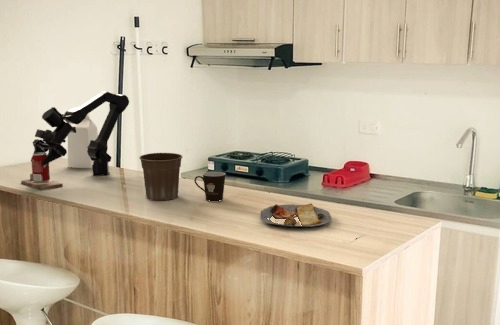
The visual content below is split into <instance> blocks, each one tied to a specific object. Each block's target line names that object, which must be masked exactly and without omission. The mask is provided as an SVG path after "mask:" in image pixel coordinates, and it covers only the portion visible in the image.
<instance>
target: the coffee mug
mask: <svg viewBox="0 0 500 325" xmlns="http://www.w3.org/2000/svg"><path fill="white" fill-rule="evenodd" d="M198 178H200V179H201V180H202V181H203V187H204V188H203V187H201V186H200V185H199V183H198V182H197V179H198ZM225 181H226V172H223V171H206V172H203V173H202V176H201V175H197V176H195V177H194V181H193V182H194V184H195V185H196V186H197V188H199V189H200V190H201V191H202V192H204V194H205V196H204V197H205V201H207V200H210V201H218V202H220V201H219V200H222V199H224V192H225V183H226V182H225ZM210 201H209V202H210ZM222 201H223V200H222Z"/></svg>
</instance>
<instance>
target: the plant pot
mask: <svg viewBox="0 0 500 325" xmlns="http://www.w3.org/2000/svg"><path fill="white" fill-rule="evenodd" d="M182 159H183V155H182V154H179V153H174V152H173V153H172V152H154V153H153V152H151V153H146V154H142V155H139V160H140V165H141V168H142V173H143V180H144V188H145V196H146V199H147V200H150V201H154V200H155V201H156V202H159V201H160V202H161V200H162V201H164V200H165V201H171V200H170V199H172V200H175V199H177V198H178V197H179V185H180V184H179V182H180V181H179V180H180V168H181V165H182Z"/></svg>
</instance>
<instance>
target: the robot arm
mask: <svg viewBox="0 0 500 325" xmlns="http://www.w3.org/2000/svg"><path fill="white" fill-rule="evenodd" d="M106 102H107V103H108V104H109V105H108V106H109V111H108V113H107V115H106V118H105V120H104V122H103V124H102V126H101V129H100V131H99V132H98V137H97V139H96V140H95V141H94V140H91V141H90V144H89V146H88V147H87V148H88V150H87V153H88V155H89V156H90V158H91V160H92V161H94V162H93V165H92V168H91V169H92V175H93V177H94V176H95V177H96V176H97V177H99V176H109V174H110V169H109V167H110V166H109V163H110V162H111V160H112V156H111V155H110V154H109V153H108V142H109V139H110V137H111V134H112V132H113V130H114V128H115V125H116V124H117V122H118V120H119V117H120V115H121V114H122V113H123V112H124V111H125V110H127V107H128V106H129V104H130V100H129V97H128V96H127V95H125V94H115V93H111V92H109V91H104V90H103V91H100V92H99V93H98V94H96V95H95V96H94V97H92V98H90V99H89V100H87V101H86V102H84V103H83V104H81V105H80V106H77V107H73V108H70V109H68V110H67V111H65V112H64V113H61V112H60V111H59V110H58V109H57V108H56V107H53V106H52V107H51V108H49V109H48V110H46V111H44V113H42V116H41V119H42V120H43V121H45V122H46V124H48V125H49V126H50V127H51V128H54V130H53V131H52V130H50V129H45V130H42V129H40V128H39V129H36V132H35V135H34V137H36V139H34V140H33V141H32V146H33V149H34V150H33V153H39V152H44V153H47V156H46V157H45V159H44V161H43V163H42V165H46V164H48V163H49V164H50V163H52V162H54V161H56V160H57V159H60V158H62V157H65V156H66V155H67V154H68V149H66V148H65V147H64V146H63V145H62V144H63V143H64V144H65V143H66V142H67V140H66V139H67V138H68V134H69V133H70V132H73V133H76V127H74V126H71V125H70V124H80V123H81V122H82V121H83V120H84V119H85V118H86V116H87V114H90V113H91V112H93V111H94V110H96V109H97V108H98V107H100V106H101V105H103V104H105V103H106ZM39 138H40V139H39ZM30 162H31V163H32V161H31V160H30Z"/></svg>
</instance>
